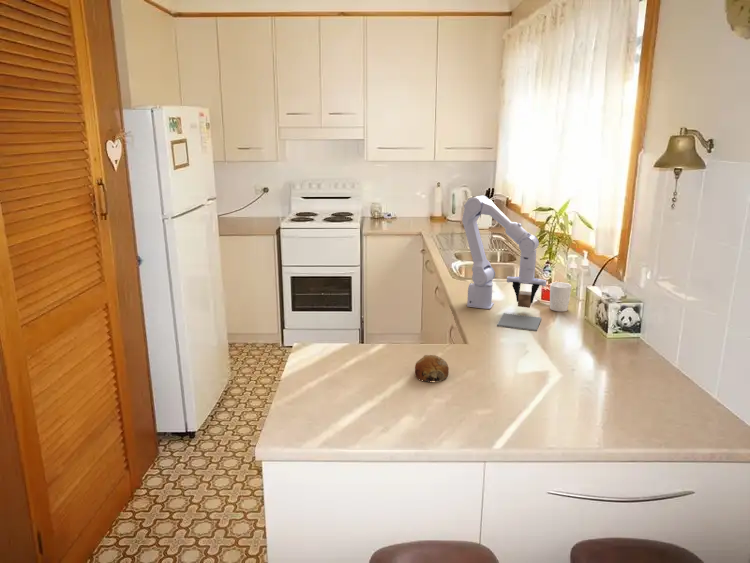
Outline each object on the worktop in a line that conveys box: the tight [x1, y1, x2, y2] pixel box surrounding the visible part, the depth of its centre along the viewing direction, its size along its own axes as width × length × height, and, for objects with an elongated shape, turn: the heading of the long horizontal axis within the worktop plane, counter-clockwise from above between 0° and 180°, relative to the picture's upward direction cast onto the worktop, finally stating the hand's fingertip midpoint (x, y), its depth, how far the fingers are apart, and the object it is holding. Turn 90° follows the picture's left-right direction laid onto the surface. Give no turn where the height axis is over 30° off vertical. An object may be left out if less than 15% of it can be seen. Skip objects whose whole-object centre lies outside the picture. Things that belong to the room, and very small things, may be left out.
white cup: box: [549, 281, 572, 312], centre depth 223 cm, size 8×8×10 cm
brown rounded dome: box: [414, 354, 450, 383], centre depth 165 cm, size 10×10×8 cm
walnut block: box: [517, 290, 532, 309], centre depth 218 cm, size 4×4×5 cm
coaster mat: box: [496, 312, 542, 332], centre depth 209 cm, size 14×14×1 cm
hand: (524, 301), depth 219 cm, fingers closed on walnut block, 4 cm apart
